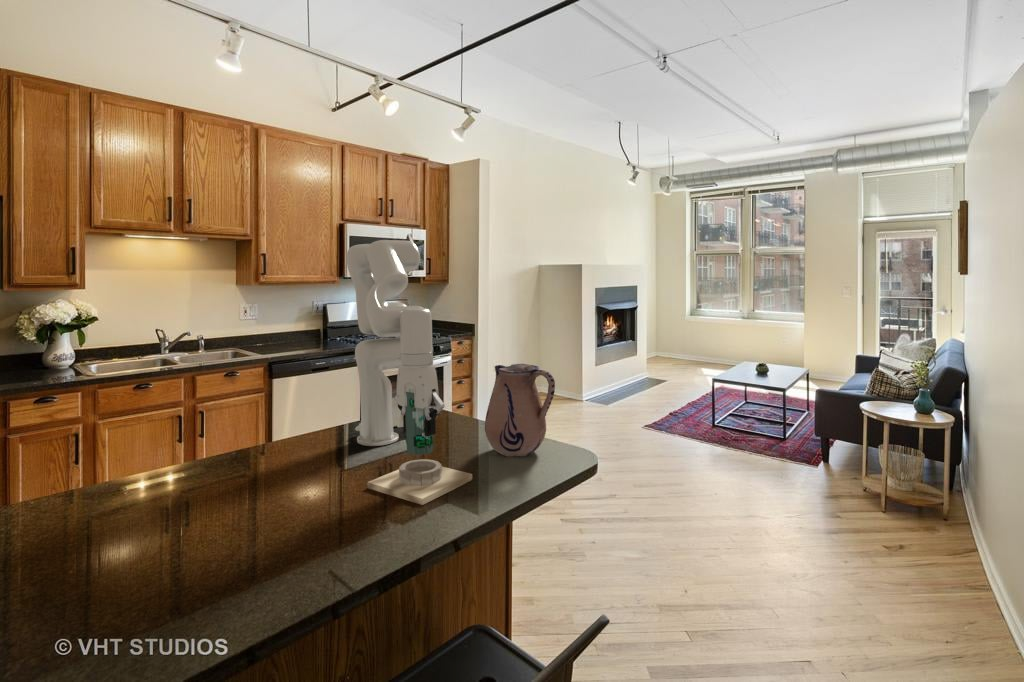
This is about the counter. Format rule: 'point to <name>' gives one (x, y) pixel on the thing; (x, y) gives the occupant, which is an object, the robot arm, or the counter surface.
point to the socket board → (420, 491)
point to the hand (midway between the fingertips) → (419, 432)
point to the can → (416, 429)
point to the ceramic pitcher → (517, 410)
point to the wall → (396, 415)
